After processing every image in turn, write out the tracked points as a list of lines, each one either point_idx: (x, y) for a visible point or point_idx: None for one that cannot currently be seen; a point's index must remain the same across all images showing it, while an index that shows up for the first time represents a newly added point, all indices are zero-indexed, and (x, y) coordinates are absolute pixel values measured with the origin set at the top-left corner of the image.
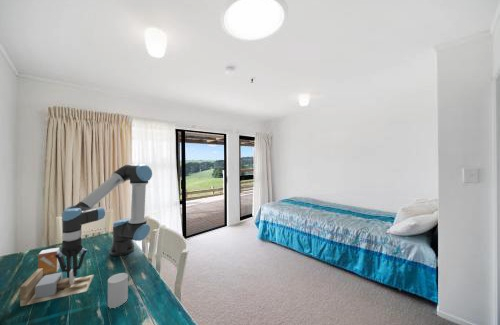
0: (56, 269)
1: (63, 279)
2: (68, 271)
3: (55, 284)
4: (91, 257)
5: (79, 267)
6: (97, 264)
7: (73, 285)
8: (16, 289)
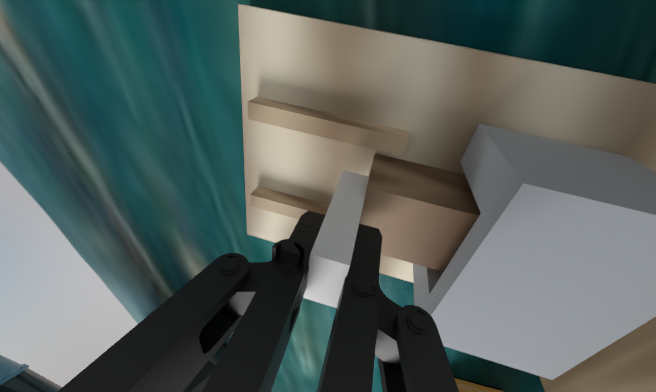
0: None
1: (410, 250)
2: (359, 281)
3: (495, 183)
4: (300, 376)
5: (219, 267)
6: None
7: None
8: None
